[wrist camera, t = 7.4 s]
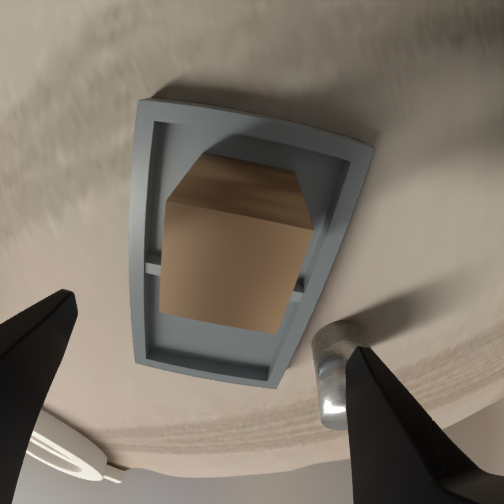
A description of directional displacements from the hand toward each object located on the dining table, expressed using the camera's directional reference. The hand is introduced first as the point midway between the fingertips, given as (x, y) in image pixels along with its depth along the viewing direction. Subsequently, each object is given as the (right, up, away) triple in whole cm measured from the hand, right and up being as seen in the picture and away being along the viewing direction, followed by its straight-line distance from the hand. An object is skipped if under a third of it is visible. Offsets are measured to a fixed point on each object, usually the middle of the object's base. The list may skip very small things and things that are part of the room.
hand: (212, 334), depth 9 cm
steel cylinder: (+8, -5, +15) cm, 18 cm away
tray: (-1, +1, +11) cm, 12 cm away
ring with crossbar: (-40, -33, +34) cm, 62 cm away
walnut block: (0, +5, +8) cm, 10 cm away
